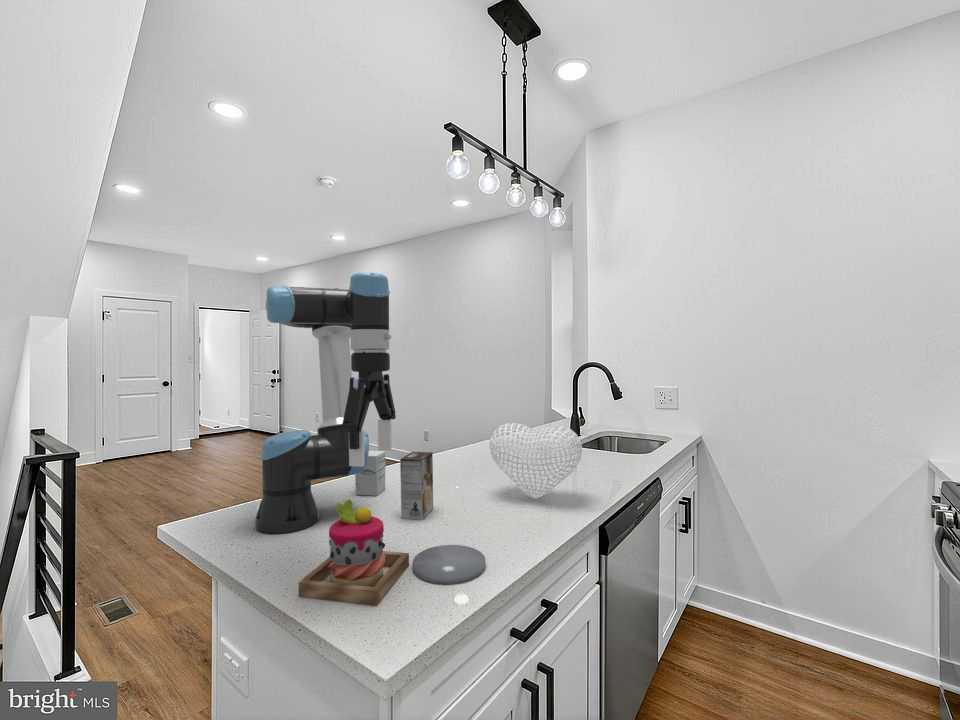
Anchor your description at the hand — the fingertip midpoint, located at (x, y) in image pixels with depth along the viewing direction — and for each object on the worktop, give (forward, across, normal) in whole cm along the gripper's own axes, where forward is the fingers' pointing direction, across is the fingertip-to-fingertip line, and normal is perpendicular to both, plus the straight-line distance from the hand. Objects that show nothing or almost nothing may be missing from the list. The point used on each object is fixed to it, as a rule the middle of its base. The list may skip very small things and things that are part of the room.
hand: (371, 457), depth 92 cm
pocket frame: (+23, -3, +2) cm, 24 cm away
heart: (+23, +52, -29) cm, 64 cm away
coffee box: (+23, +34, +2) cm, 41 cm away
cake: (+23, -3, +2) cm, 24 cm away
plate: (+23, +5, -14) cm, 28 cm away
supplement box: (+23, +49, +22) cm, 59 cm away
